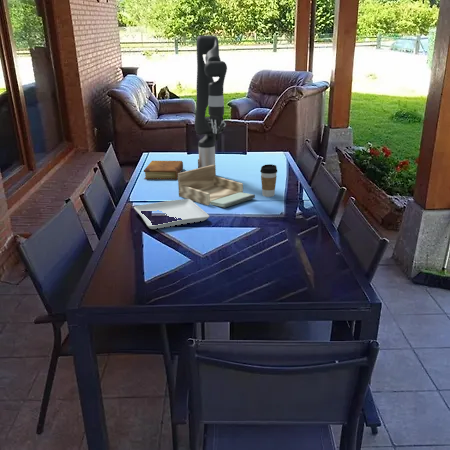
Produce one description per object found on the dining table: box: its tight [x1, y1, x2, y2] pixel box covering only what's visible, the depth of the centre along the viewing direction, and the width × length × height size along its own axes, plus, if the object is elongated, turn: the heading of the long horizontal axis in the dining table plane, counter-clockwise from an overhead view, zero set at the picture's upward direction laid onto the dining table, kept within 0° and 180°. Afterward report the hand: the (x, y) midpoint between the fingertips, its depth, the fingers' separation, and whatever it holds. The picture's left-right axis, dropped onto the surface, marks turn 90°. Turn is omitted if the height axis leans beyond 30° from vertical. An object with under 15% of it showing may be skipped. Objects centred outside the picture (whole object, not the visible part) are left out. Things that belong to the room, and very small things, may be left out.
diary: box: [143, 160, 184, 180], centre depth 290 cm, size 23×19×6 cm
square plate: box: [133, 198, 210, 230], centre depth 221 cm, size 27×27×4 cm
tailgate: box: [210, 192, 256, 208], centre depth 239 cm, size 2×20×10 cm
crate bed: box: [177, 164, 244, 206], centre depth 248 cm, size 22×24×12 cm
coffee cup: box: [260, 163, 278, 198], centre depth 247 cm, size 8×8×15 cm
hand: (216, 140), depth 246 cm, fingers closed
